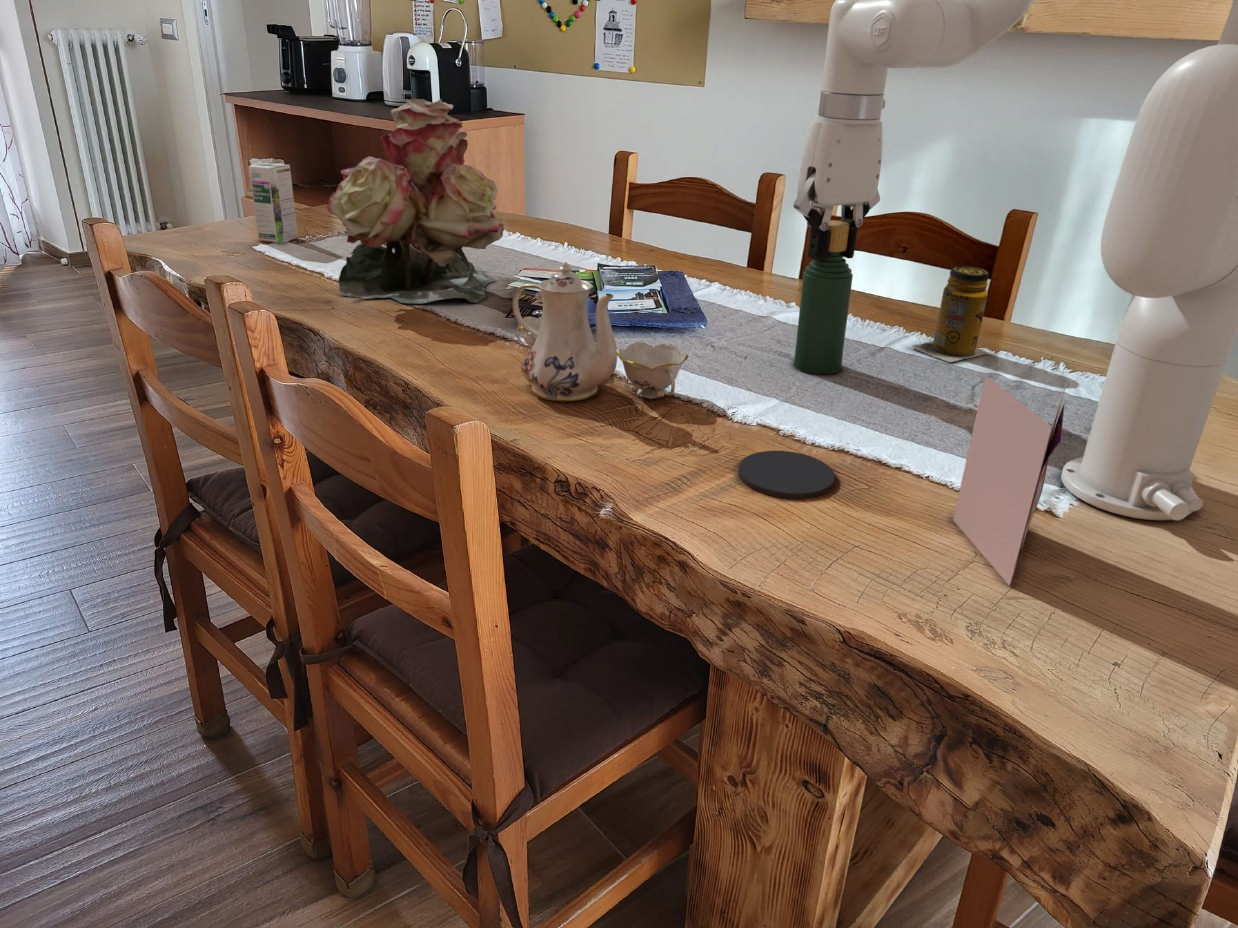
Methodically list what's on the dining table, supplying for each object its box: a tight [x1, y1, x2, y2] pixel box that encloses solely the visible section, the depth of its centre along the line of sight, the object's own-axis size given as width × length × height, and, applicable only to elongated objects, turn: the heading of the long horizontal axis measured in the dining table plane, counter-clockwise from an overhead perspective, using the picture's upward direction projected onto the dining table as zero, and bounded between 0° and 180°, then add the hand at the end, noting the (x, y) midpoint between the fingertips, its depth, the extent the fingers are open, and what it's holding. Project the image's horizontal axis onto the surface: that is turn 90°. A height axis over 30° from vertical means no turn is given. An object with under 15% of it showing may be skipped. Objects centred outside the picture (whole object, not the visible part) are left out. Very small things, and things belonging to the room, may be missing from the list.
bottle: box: [793, 252, 854, 375], centre depth 123 cm, size 6×6×19 cm
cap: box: [827, 219, 849, 252], centre depth 119 cm, size 4×4×3 cm
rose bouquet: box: [326, 98, 505, 305], centre depth 150 cm, size 26×29×30 cm
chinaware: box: [511, 261, 689, 403], centre depth 115 cm, size 28×17×17 cm, turn 56°
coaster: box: [737, 450, 836, 500], centre depth 96 cm, size 10×10×1 cm
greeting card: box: [952, 374, 1067, 587], centre depth 81 cm, size 11×7×15 cm, turn 151°
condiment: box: [910, 265, 990, 363], centre depth 132 cm, size 7×8×12 cm
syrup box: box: [248, 162, 299, 244], centre depth 180 cm, size 6×6×14 cm
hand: (830, 256), depth 120 cm, fingers closed on cap, 3 cm apart
